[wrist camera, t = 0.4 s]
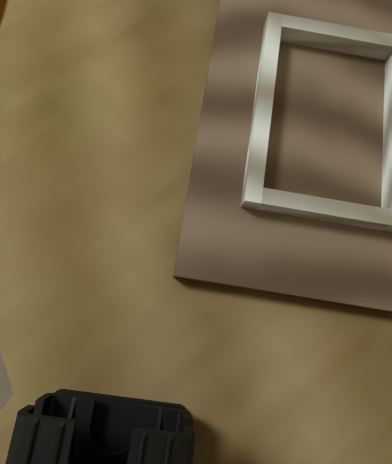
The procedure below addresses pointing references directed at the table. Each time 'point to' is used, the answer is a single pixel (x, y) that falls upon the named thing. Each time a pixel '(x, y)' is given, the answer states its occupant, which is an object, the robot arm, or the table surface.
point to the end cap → (101, 431)
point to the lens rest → (295, 153)
